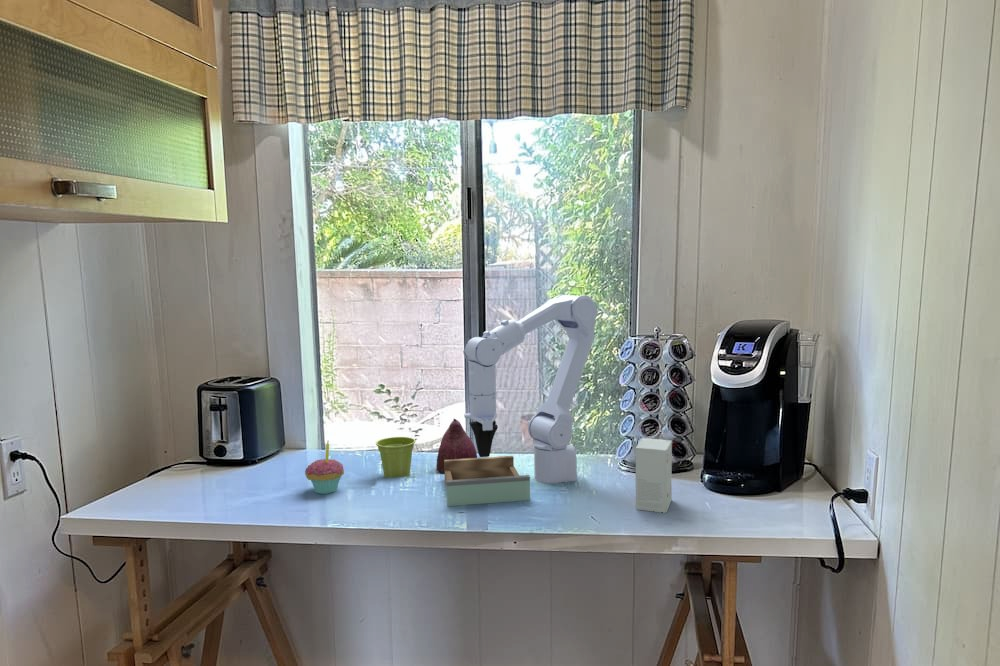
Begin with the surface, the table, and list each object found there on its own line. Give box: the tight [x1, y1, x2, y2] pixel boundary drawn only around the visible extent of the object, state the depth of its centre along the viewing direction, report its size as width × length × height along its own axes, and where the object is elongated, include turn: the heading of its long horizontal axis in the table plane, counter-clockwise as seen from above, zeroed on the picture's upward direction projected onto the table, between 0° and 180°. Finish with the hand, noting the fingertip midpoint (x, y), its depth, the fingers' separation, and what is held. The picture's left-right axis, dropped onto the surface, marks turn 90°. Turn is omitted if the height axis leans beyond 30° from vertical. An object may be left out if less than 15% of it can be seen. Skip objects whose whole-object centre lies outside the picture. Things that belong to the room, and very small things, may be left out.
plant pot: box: [375, 436, 416, 479], centre depth 150 cm, size 9×9×9 cm
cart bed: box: [444, 455, 521, 489], centre depth 136 cm, size 16×16×6 cm
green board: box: [445, 474, 531, 507], centre depth 128 cm, size 17×1×5 cm, turn 99°
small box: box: [634, 437, 673, 514], centre depth 128 cm, size 8×6×13 cm
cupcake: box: [304, 441, 345, 495], centre depth 141 cm, size 9×8×12 cm
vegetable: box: [435, 418, 478, 475], centre depth 154 cm, size 10×10×15 cm
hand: (483, 455), depth 134 cm, fingers closed
